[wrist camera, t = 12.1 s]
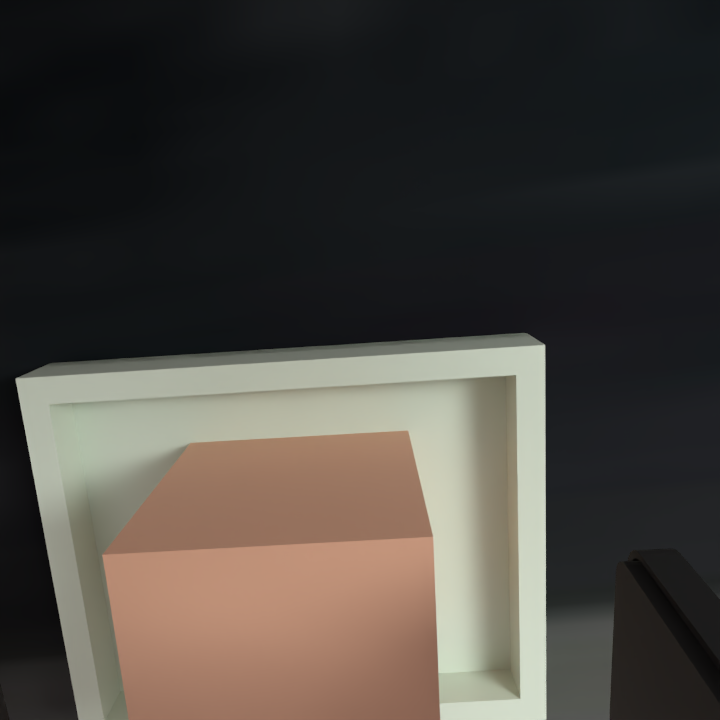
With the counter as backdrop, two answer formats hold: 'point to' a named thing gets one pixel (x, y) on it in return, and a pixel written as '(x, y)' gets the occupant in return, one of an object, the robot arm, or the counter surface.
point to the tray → (314, 418)
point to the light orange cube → (280, 584)
